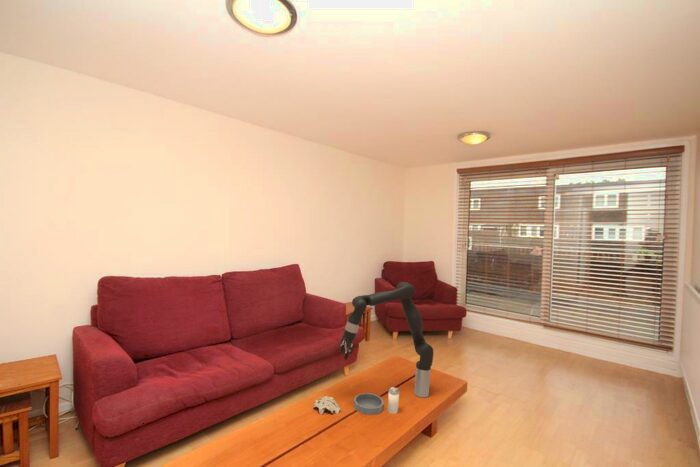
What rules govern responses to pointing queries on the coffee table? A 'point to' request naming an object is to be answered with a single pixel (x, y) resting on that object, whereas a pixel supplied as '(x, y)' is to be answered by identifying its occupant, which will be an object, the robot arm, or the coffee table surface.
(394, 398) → the pebble cup
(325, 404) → the coral
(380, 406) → the bowl
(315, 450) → the coffee table surface
